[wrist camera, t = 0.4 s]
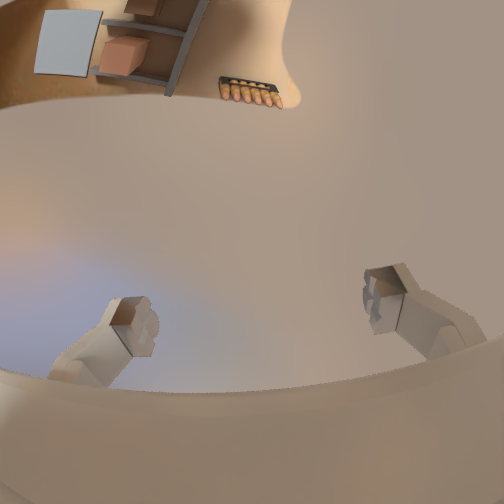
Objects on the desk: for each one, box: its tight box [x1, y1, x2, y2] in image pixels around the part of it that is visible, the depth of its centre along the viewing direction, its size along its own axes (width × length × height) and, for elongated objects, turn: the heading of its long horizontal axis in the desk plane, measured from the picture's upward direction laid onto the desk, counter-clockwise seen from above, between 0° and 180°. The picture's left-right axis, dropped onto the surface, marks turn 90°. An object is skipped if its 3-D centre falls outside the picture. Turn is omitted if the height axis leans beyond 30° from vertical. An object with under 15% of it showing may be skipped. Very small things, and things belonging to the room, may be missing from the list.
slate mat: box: [34, 10, 103, 77], centre depth 34 cm, size 14×13×1 cm
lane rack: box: [89, 0, 210, 97], centre depth 34 cm, size 21×17×8 cm
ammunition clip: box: [219, 77, 283, 109], centre depth 45 cm, size 11×2×12 cm, turn 78°
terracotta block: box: [99, 35, 150, 76], centre depth 36 cm, size 5×5×11 cm
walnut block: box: [124, 0, 165, 16], centre depth 31 cm, size 5×5×6 cm
